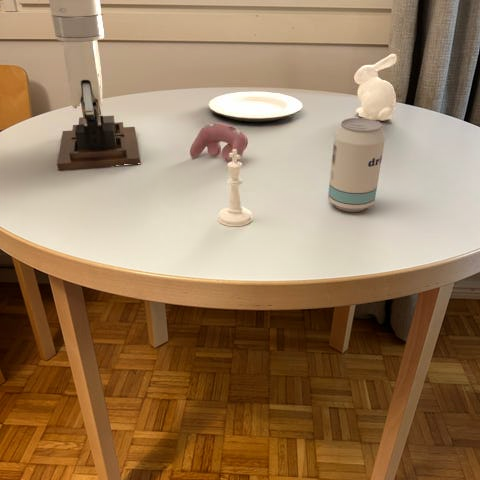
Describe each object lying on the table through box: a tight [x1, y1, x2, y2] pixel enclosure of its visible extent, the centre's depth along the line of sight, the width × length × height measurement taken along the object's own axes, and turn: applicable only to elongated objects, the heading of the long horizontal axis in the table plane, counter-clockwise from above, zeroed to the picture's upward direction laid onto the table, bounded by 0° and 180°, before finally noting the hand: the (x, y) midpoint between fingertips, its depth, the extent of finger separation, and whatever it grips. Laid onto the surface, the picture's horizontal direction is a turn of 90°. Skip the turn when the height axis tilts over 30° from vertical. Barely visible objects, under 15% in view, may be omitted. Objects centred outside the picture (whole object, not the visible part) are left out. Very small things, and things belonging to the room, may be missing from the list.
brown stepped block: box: [56, 115, 142, 171], centre depth 97 cm, size 14×18×4 cm
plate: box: [208, 91, 303, 123], centre depth 118 cm, size 21×21×2 cm
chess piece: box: [217, 149, 253, 227], centre depth 73 cm, size 5×5×10 cm
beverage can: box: [327, 117, 386, 213], centre depth 76 cm, size 7×7×12 cm
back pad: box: [75, 123, 116, 150], centre depth 93 cm, size 6×4×3 cm
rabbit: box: [353, 53, 398, 122], centre depth 113 cm, size 12×9×12 cm
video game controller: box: [189, 122, 249, 164], centre depth 94 cm, size 10×5×7 cm, turn 56°
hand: (96, 142), depth 94 cm, fingers closed on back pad, 4 cm apart
